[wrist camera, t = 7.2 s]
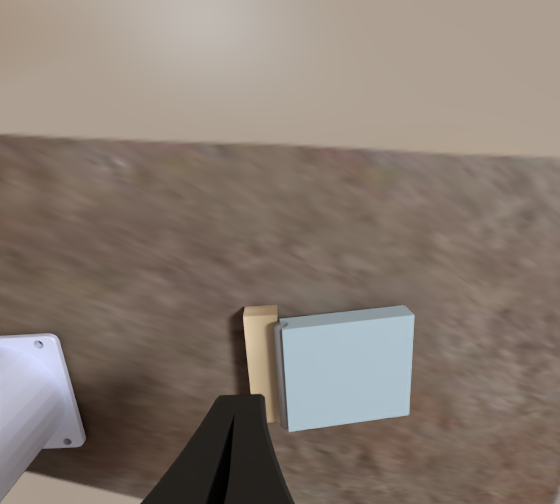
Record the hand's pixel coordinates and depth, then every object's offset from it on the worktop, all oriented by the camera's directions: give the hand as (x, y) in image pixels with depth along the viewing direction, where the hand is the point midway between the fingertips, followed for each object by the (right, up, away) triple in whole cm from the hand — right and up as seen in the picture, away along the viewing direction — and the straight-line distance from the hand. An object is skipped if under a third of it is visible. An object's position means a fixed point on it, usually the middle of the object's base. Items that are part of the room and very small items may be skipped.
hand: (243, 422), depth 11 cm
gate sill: (0, -1, +11) cm, 11 cm away
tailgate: (+1, -2, +9) cm, 9 cm away
